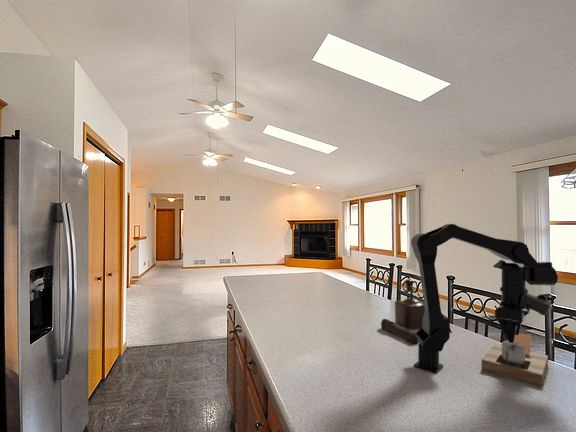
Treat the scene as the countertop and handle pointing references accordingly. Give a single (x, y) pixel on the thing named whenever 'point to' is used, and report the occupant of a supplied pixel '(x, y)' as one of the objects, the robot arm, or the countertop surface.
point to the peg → (513, 354)
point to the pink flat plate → (524, 342)
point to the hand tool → (398, 331)
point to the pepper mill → (409, 310)
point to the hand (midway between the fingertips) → (513, 338)
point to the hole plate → (531, 373)
